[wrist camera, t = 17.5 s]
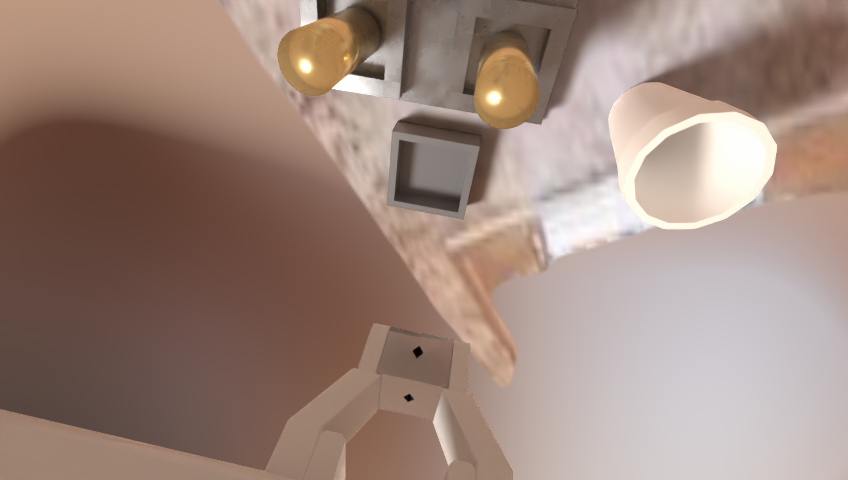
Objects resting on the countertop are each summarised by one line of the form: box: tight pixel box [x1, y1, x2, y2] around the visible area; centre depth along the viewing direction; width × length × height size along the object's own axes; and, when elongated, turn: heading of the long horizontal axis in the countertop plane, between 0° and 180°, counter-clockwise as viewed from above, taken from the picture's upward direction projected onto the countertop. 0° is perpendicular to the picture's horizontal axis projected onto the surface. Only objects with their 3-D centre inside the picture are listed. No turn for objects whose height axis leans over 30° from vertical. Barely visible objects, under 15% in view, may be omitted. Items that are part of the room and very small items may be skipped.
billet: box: [278, 7, 380, 96], centre depth 32 cm, size 4×4×12 cm
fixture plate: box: [299, 0, 578, 124], centre depth 36 cm, size 24×11×3 cm, turn 83°
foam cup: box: [608, 82, 777, 229], centre depth 33 cm, size 10×9×13 cm
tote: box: [387, 121, 481, 219], centre depth 43 cm, size 9×9×3 cm
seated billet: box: [474, 32, 539, 129], centre depth 31 cm, size 4×4×12 cm
